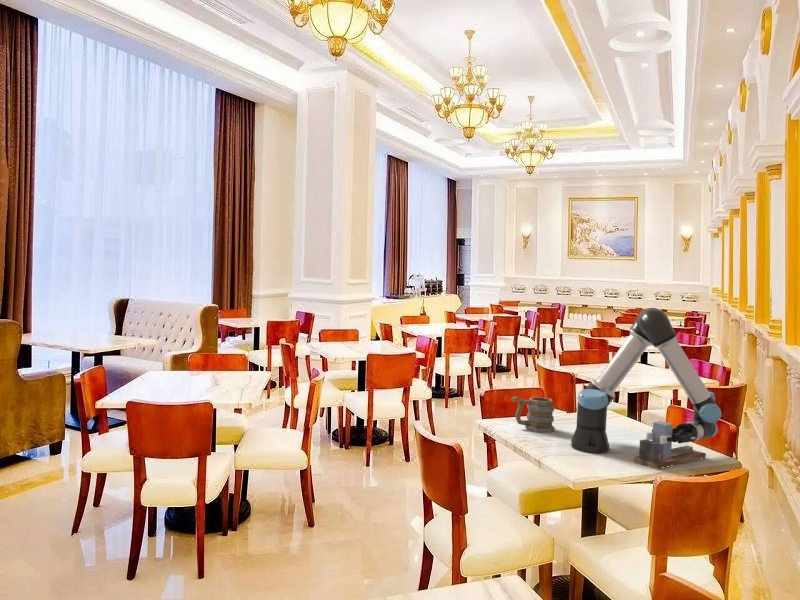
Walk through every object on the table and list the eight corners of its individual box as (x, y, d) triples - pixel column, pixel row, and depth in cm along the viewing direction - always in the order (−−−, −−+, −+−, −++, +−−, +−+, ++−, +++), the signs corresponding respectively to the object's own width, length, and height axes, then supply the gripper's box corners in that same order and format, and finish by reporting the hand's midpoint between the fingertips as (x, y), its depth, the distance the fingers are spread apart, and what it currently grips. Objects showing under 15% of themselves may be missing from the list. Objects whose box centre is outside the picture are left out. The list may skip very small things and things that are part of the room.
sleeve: (650, 455, 238) (652, 422, 238) (658, 453, 241) (660, 421, 241) (663, 459, 234) (665, 425, 233) (671, 457, 237) (673, 424, 236)
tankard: (550, 426, 289) (551, 394, 288) (556, 433, 276) (558, 400, 275) (507, 424, 289) (509, 393, 289) (512, 431, 277) (513, 398, 276)
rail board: (634, 462, 236) (635, 439, 236) (682, 451, 254) (683, 430, 254) (657, 469, 228) (658, 445, 228) (705, 458, 246) (707, 436, 245)
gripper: (710, 447, 240) (675, 454, 227) (667, 435, 255) (632, 442, 242) (711, 428, 239) (676, 434, 227) (669, 417, 254) (633, 423, 242)
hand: (654, 438), depth 234 cm, fingers closed on sleeve, 5 cm apart
